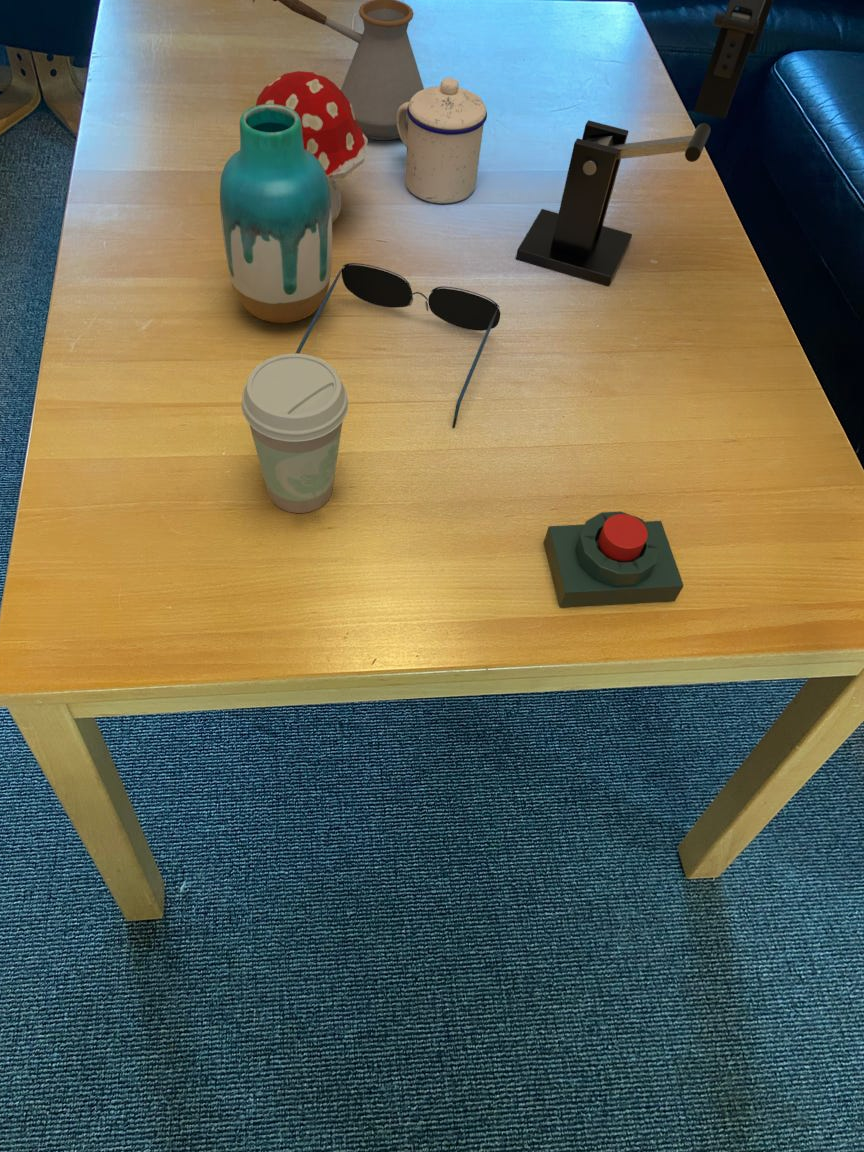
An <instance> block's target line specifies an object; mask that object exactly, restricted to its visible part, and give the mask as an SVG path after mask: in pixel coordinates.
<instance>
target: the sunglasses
mask: <svg viewBox="0 0 864 1152" xmlns="http://www.w3.org/2000/svg"><path fill="white" fill-rule="evenodd" d="M340 276H341V279H342V282H343V285H344V287H345V289H347V290H348V291H349V292H350V293H351V294H352V295H354V296H355V297H357V298H358V299H360V300H362V301H364V302H365V303H368V304H371V305H375V306H378V307H382V308H393V309H396V308H406V307H411V305H412V304H413V302H414V297H413V295H416V294H418V295H420V296H422V297H423V298H424V299H425V301H424V302H425V303H424V305H425V309H426V311H427V312H428V311H429V310H430V311H431V313H432V314H433V315H434V316H436V317H437V318H439V319H440V320H443V321H444V322H445V323H448V324H450V325H452V326H454V327H458V328H460V329H465V330H469V331H474V332H475V331H476V332H482V331H485V334H484V336H483V338H482V341H481V344H480V345H479V348H478V350H477V352H476V355H475V357H474V360H473V362H472V365H471V367H470V369H469V371H468V374H467V377H466V379H465V381H464V383H463V386H462V388H461V391H460V393H459V396H458V398H457V400H456V404H455V409H454V416H453V422H452V429H454V428H456V425H457V421H458V417H459V413H460V412H459V411H460V407H461V403H462V401H463V398H464V397H465V394H466V392H467V391H466V390H467V389H468V386H469V383H470V382H471V379H472V378H473V377H472V376H473V374H474V371H475V369H476V367H477V364H478V362H479V360H480V357H481V354H482V352H483V350H484V347H485V345H486V343H487V340H488V338H489V335H490V332H491V330H493V329H495V328H497V326H498V325H499V323H500V320H501V310H500V309H501V307H500V305H499V304H498V303H497V302H496V301H495V300H493V299H492V298H490V297H488V296H485V295H483V294H480V293H477V292H474V291H471V290H468V289H467V290H466V289H465V288H458V287H453V286H445V285H443V286H437V287H435V288H433V289H432V290H430V294H429V295H428V297H427V296H426V295H425V294H424V293H422V292H420V291H415V292H413V290H412V288H411V287H412V285H411V284H410V282H409V281H408V279H406V278H405V277H404V276H403V275H400V274H398V273H396V272H394V271H392V270H388V269H387V268H383V267H380V266H376V265H371V264H367V263H366V264H365V263H359V262H348V263H344V264H343V265H342V267H341V269H340V270H339V272H338V273H337V275H336V276H335V278H334V280H333V282H332V284H331V285H330V287H329V288H328V291H327V294H326V296H325V298H324V300H323V302H322V304H321V305H320V306H319V307H318V309H317V310H316V311H317V312H316V313H315V315H314V317H313V319H312V320H311V322H310V324H309V326H308V328H307V330H306V332H305V334H304V336H302V337H303V338H302V339H301V341H300V343H299V345H298V347H297V348H296V351H295V353H297V354H301V351H302V349H303V348H304V345H305V344H306V342H307V340H308V338H309V336H310V334H311V332H312V330H313V329H314V327H315V325H316V323H317V322H318V319H319V317H320V315H321V314H322V311H323V310H324V307H325V306H326V304H327V302H328V300H329V298H330V296H331V294H332V292H333V291H334V288H335V286H336V285H337V282H338V280H339V278H340Z"/></svg>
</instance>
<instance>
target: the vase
mask: <svg viewBox="0 0 864 1152" xmlns="http://www.w3.org/2000/svg"><path fill="white" fill-rule="evenodd" d="M239 142H240V143H239V150H237V151H235V153H233V154H232V155H231V156H230V157H229V159H228V160H227V161H226V162H225V164H224V167H223V169H222V172H221V174H220V175H221V176H220V186H219V208H220V220H221V221H220V222H221V229H222V231H221V232H222V238H223V246H224V252H225V253H224V254H225V258H226V259H225V260H226V263H227V269H228V273H229V279H230V282H231V285H232V289H233V291H234V293H235V295H236V297H237V299H238V301H239V302H240V304H241V305H242V306H243V307H244V308H245V310H247V311H248V312H249V313H250V314H251V315H253V316H255V317H256V318H257V319H260V320H263V321H266V322H271V323H277V324H289V323H293V322H298V321H301V320H305V318H308V317H310V316H311V315H312V314H314V312H316V311H318V309H319V307H320V306H321V304H322V302H323V300H324V298H325V296H326V294H327V293H328V291H329V288H330V287H329V286H330V284H331V283H330V282H331V276H332V262H333V223H332V212H331V198H330V190H329V184H328V179H327V176H326V173H325V170H324V168H323V166H322V165H321V163H320V161H319V160H318V159H317V158H316V157H315V156H314V155H313V154H311V153H310V152H308V151H307V150H305V149H304V144H303V135H302V124H301V119H300V117H299V115H298V114H297V113H296V112H295V111H294V110H292V109H290V108H288V107H286V106H282V105H276V104H263V105H258V106H255V105H254V106H252V107H249V108H248V109H246V110H244V112H243V113H241V116H240V118H239Z"/></svg>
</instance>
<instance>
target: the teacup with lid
mask: <svg viewBox="0 0 864 1152" xmlns="http://www.w3.org/2000/svg"><path fill="white" fill-rule="evenodd" d="M406 111H407V114H408V116H409V122H408V129H407V126H406ZM487 119H488V111H487V106H486V105H485V103H484V100H482V99H481V97H480V96H479V95H477V94H476V93H474V92H472V91H471V90H467V89H465V88H461V87H460V84H459V81H458V80H457V79H455V78H453V77H445V78H443V79H442V80H441V82H440V85H436V86H430V87H426V88H424V89H423V90H421V91H419V92H417V93H416V94H415V95H414V96H413V97H412V98H411V100H410V102H406V103H404V104H402V105H401V106H400V107H399V109H398V111H397V118H396V120H397V128H398V132H399V135H400V138H399V139H400V140H401V142H402V144H404V146H405V147H406V155H405V171H404V173H405V174H404V183H405V187H406V188H407V189H408V191H409V192H410V193H411V194H412V195H414V196H415V197H416V198H418V199H420V200H423V201H426V202H428V203H433V204H453V203H458V202H461V201H463V200H465V199H467V198H468V197H470V196H471V195H472V193H473V192H475V191H474V190H475V188H476V184H477V179H478V170H479V162H480V156H481V155H480V154H481V147H482V142H483V141H482V140H483V133H484V126H485V124H486V121H487Z"/></svg>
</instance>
